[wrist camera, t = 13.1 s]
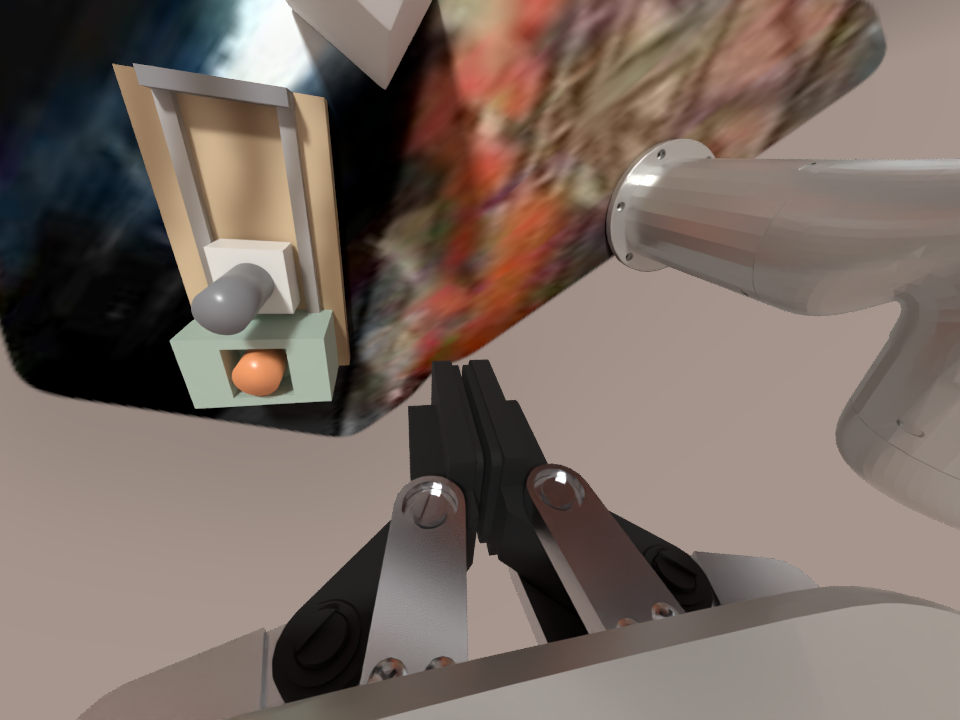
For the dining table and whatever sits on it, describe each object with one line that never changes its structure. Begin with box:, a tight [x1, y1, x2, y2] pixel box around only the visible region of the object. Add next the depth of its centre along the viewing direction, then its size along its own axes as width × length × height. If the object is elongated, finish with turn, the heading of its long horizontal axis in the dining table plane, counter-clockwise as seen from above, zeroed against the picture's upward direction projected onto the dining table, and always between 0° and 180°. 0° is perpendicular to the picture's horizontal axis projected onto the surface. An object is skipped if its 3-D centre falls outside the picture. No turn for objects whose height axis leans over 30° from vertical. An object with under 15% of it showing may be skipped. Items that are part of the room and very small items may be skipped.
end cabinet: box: [170, 310, 339, 409], centre depth 30 cm, size 10×6×8 cm, turn 84°
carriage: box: [191, 238, 301, 335], centre depth 25 cm, size 5×5×9 cm
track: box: [112, 63, 350, 365], centre depth 28 cm, size 12×22×4 cm, turn 174°
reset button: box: [232, 349, 288, 396], centre depth 28 cm, size 3×3×3 cm
